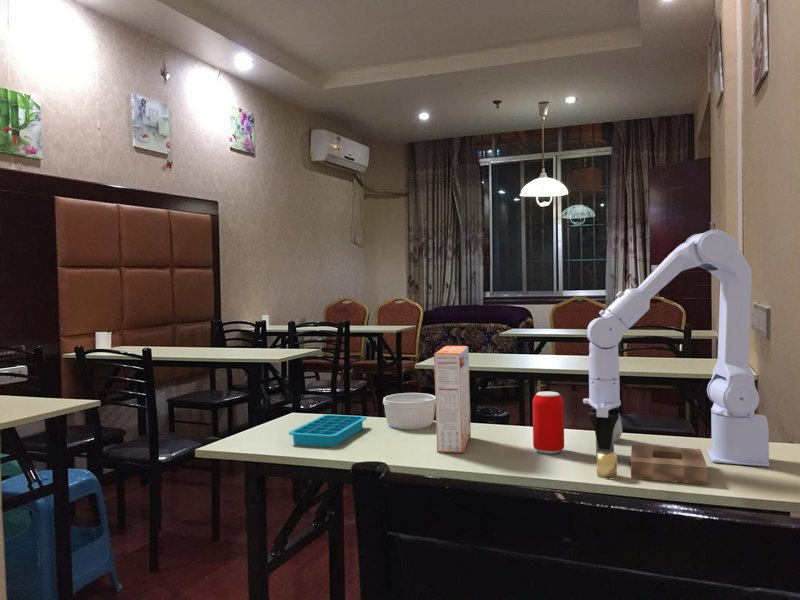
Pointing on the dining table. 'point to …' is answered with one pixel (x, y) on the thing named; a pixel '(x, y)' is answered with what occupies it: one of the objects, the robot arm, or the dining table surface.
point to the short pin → (606, 464)
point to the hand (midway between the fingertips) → (605, 446)
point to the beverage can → (548, 422)
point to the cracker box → (452, 399)
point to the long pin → (606, 449)
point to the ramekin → (409, 410)
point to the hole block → (668, 464)
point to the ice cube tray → (327, 430)
